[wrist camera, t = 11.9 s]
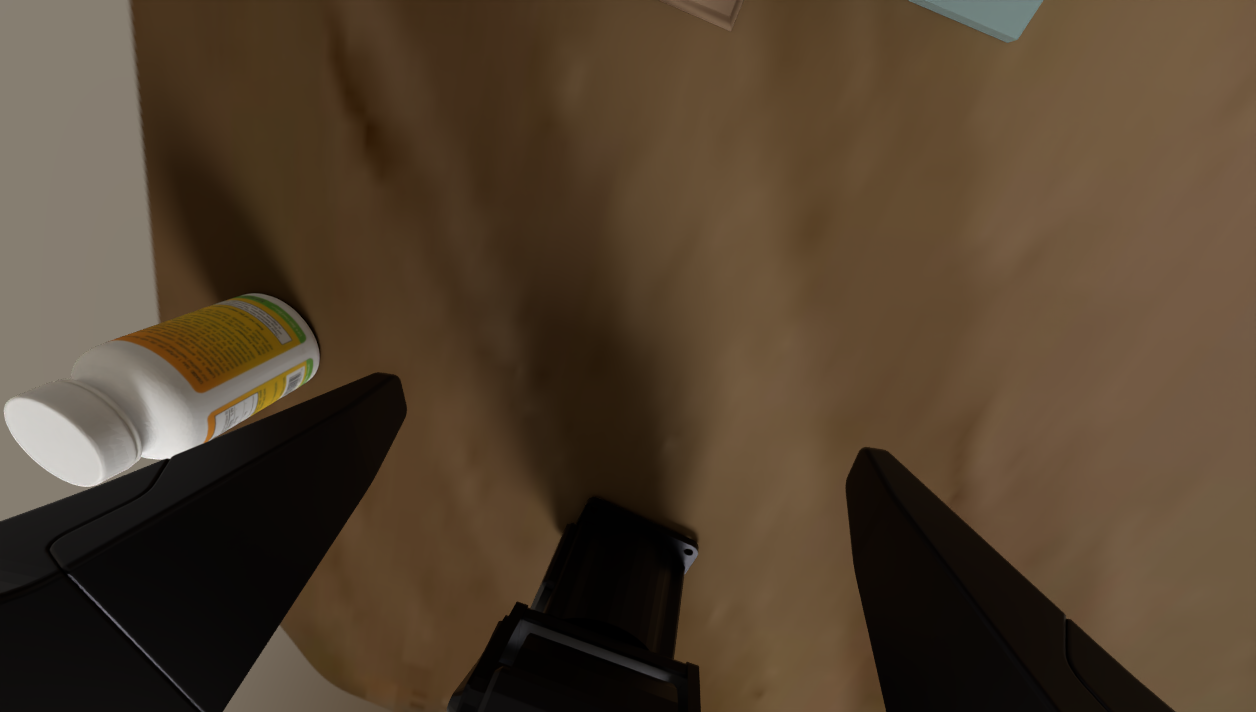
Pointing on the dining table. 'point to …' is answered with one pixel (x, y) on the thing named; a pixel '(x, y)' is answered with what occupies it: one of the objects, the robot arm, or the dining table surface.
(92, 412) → the supplement bottle
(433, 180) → the dining table surface
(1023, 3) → the pad
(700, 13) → the channel
